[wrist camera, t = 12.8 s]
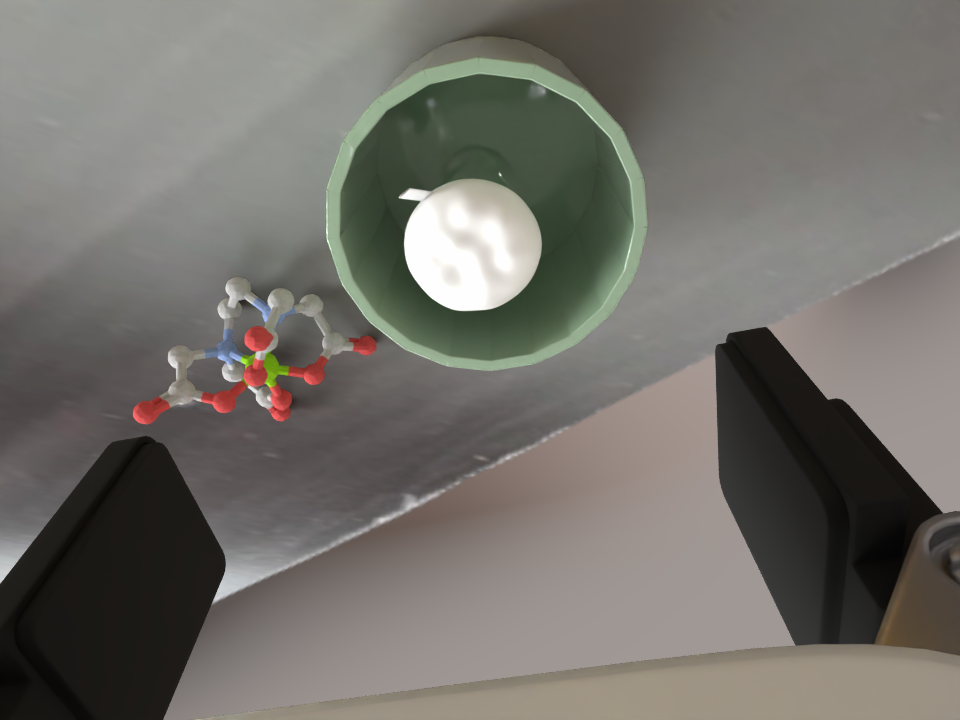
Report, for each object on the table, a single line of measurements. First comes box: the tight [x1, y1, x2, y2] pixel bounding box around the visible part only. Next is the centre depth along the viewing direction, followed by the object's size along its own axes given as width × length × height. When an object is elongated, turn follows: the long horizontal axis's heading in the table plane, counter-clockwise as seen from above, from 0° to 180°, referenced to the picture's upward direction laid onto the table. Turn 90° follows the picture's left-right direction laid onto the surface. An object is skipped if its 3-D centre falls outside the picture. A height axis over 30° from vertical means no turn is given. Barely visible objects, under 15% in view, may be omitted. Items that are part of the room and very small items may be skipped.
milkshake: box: [399, 146, 542, 311], centre depth 25 cm, size 4×5×10 cm
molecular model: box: [133, 277, 376, 424], centre depth 30 cm, size 7×8×7 cm
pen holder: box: [326, 36, 648, 371], centre depth 26 cm, size 10×10×9 cm
